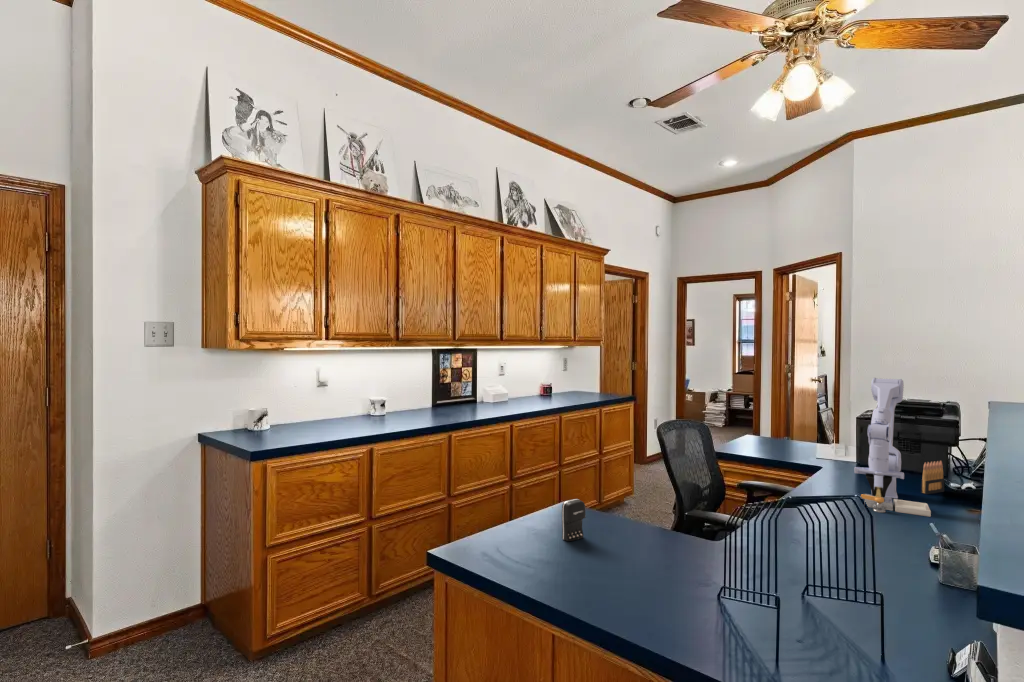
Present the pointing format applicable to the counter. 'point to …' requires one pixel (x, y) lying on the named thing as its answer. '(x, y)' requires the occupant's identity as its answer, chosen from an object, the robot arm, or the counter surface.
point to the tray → (912, 507)
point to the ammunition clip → (932, 478)
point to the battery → (572, 519)
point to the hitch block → (880, 504)
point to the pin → (878, 491)
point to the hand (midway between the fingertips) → (878, 495)
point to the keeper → (872, 498)
